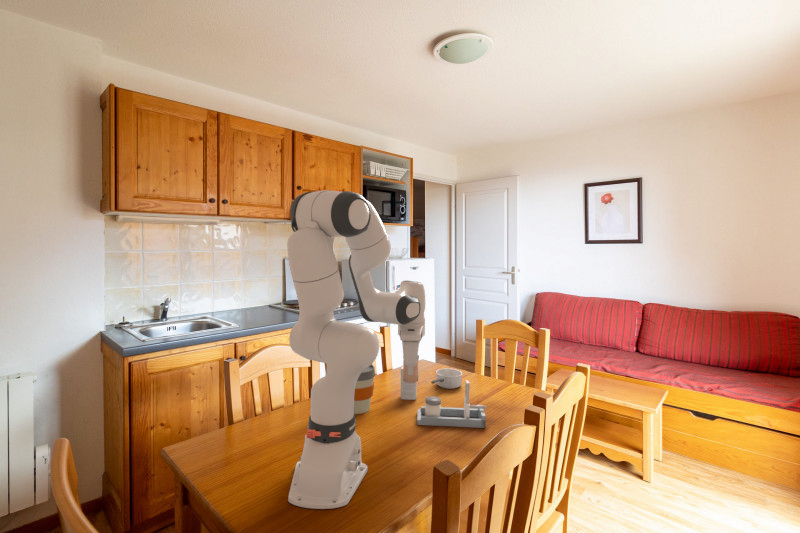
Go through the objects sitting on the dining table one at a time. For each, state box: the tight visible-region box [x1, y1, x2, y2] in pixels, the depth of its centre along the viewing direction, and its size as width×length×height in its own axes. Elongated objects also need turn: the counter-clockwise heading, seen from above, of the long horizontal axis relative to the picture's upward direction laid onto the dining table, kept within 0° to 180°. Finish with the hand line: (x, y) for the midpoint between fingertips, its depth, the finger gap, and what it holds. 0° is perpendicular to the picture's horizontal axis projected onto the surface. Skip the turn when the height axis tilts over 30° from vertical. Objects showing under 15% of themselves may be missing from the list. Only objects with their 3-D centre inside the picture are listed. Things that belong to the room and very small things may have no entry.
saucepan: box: [431, 367, 463, 390], centre depth 159 cm, size 12×20×6 cm, turn 146°
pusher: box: [463, 379, 488, 418], centre depth 129 cm, size 6×7×13 cm
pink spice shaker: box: [402, 354, 420, 383], centre depth 126 cm, size 5×5×8 cm
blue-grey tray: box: [416, 404, 487, 429], centre depth 129 cm, size 9×22×4 cm, turn 86°
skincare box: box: [400, 365, 418, 401], centre depth 148 cm, size 6×4×12 cm
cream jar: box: [424, 395, 442, 417], centre depth 130 cm, size 5×5×7 cm
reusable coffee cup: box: [354, 364, 376, 415], centre depth 137 cm, size 13×12×15 cm
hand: (410, 370), depth 126 cm, fingers closed on pink spice shaker, 5 cm apart
